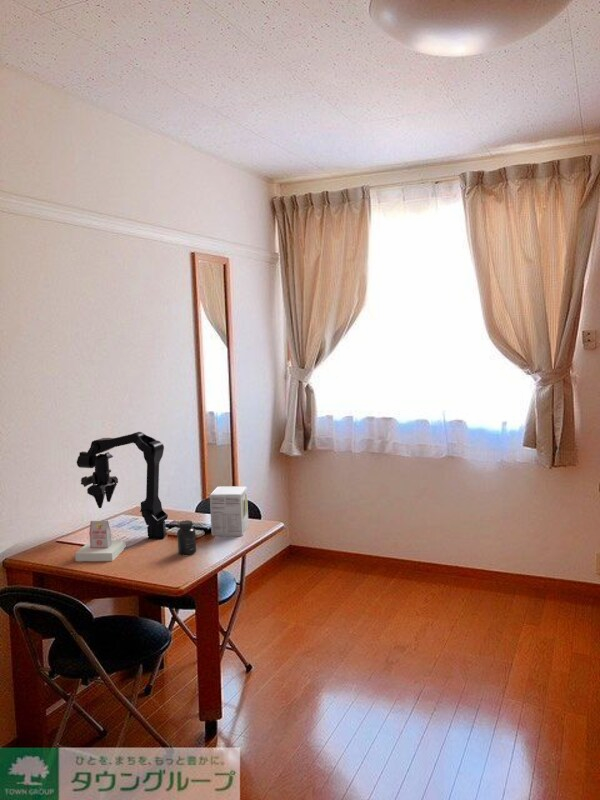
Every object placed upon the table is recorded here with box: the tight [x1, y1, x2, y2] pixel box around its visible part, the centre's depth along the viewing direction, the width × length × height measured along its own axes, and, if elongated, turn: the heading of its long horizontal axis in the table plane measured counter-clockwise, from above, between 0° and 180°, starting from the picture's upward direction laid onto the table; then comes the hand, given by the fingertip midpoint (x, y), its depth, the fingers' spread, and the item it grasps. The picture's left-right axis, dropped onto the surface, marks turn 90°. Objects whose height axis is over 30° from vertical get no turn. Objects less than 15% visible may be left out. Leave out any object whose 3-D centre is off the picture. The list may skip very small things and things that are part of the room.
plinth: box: [74, 539, 127, 562], centre depth 229 cm, size 14×14×3 cm
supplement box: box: [209, 485, 249, 537], centre depth 251 cm, size 13×13×18 cm
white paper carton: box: [88, 520, 112, 548], centre depth 228 cm, size 4×7×10 cm, turn 86°
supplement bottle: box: [176, 519, 197, 556], centre depth 227 cm, size 7×7×12 cm
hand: (104, 504), depth 253 cm, fingers open, 9 cm apart
